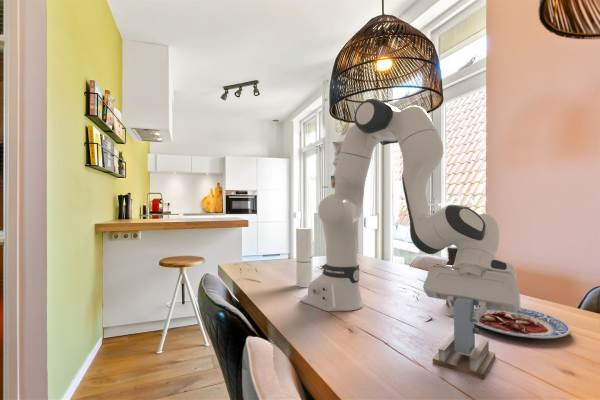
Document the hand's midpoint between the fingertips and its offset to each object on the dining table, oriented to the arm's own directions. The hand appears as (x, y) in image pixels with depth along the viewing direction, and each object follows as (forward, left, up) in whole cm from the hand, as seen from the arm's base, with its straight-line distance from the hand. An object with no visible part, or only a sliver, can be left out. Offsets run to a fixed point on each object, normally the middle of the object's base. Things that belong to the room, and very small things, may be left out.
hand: (463, 318), depth 71 cm
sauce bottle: (-13, +42, -10) cm, 45 cm away
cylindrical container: (-70, +27, -10) cm, 76 cm away
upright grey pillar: (0, +1, -7) cm, 7 cm away
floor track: (0, +1, -9) cm, 9 cm away
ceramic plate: (+5, +32, -10) cm, 34 cm away
